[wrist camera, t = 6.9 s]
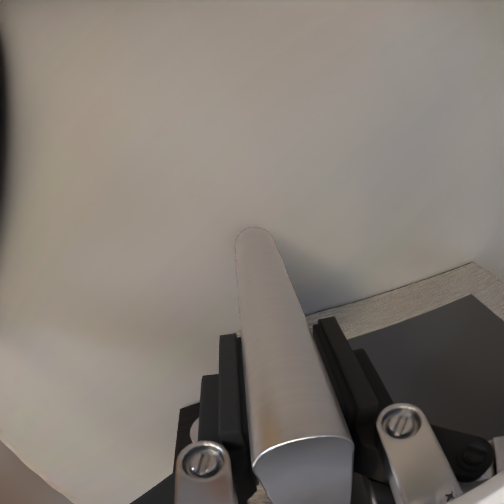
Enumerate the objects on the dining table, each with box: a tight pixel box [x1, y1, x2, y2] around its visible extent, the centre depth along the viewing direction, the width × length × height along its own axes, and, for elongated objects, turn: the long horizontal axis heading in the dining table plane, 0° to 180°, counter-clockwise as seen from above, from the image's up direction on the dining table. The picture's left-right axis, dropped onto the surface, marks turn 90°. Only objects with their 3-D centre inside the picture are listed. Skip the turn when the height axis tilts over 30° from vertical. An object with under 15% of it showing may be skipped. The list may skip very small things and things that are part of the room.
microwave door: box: [233, 227, 504, 504], centre depth 12 cm, size 10×21×18 cm, turn 103°
